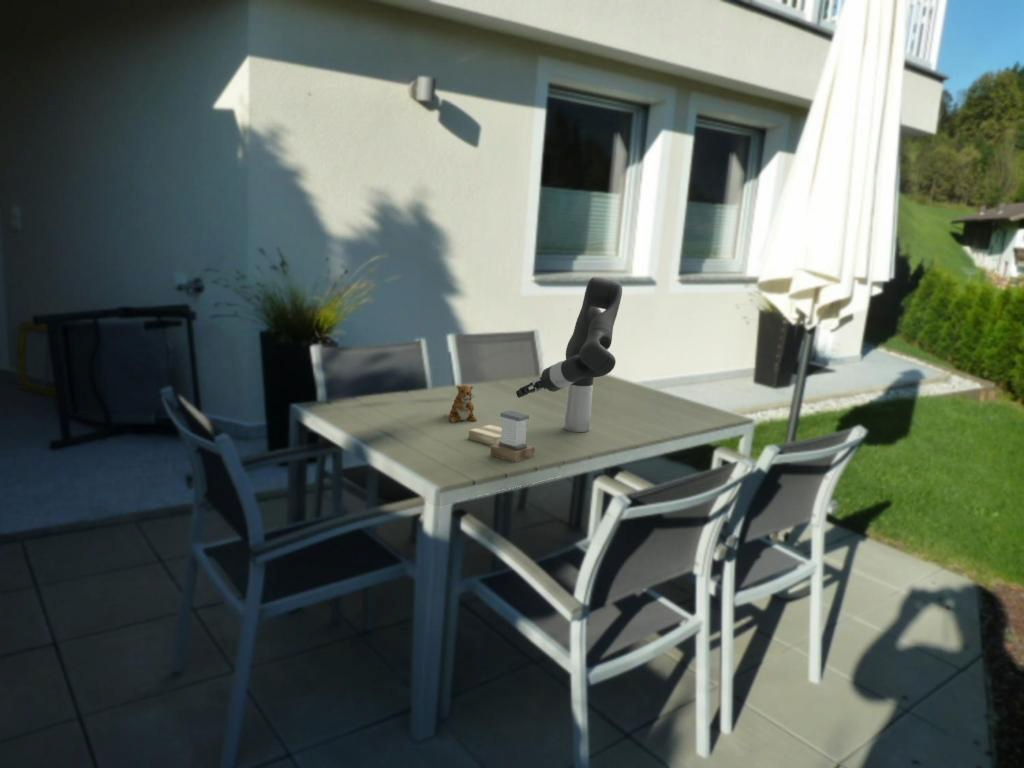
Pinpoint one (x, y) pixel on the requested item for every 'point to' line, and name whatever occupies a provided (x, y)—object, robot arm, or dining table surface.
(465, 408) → the stuffed squirrel
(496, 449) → the walnut stand
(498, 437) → the cream slab
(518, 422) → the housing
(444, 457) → the dining table surface
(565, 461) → the dining table surface
